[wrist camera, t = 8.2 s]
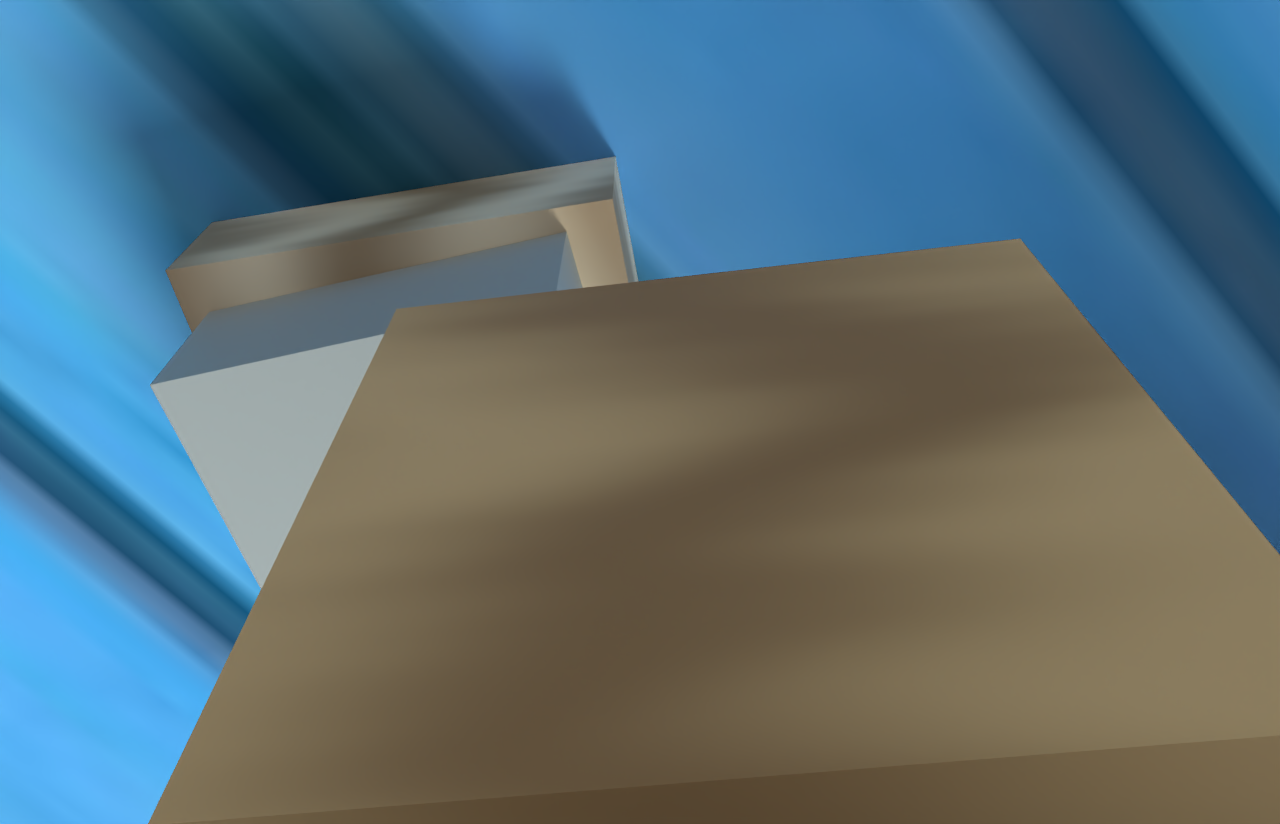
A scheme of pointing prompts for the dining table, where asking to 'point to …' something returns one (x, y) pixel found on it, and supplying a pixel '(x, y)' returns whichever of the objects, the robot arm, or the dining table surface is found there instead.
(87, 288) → the dining table surface
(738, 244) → the dining table surface
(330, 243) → the birch slab
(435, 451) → the block
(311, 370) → the slate block
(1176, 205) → the dining table surface
